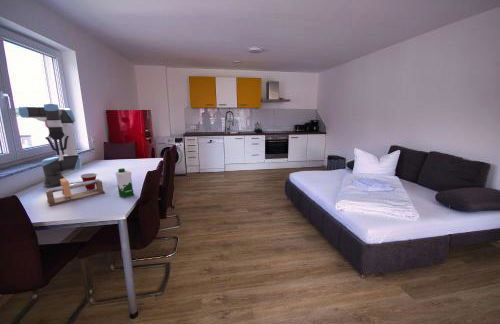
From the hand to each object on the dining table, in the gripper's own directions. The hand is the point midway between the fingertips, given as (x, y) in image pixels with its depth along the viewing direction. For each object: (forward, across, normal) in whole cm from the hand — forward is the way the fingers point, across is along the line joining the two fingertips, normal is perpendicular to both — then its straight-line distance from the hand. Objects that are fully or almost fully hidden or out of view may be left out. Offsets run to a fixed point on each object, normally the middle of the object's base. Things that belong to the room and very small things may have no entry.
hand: (61, 159), depth 164 cm
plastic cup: (+28, +15, +4) cm, 32 cm away
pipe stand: (+27, +3, -10) cm, 29 cm away
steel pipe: (+20, +3, -10) cm, 23 cm away
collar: (+24, -3, -10) cm, 26 cm away
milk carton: (+27, +27, -35) cm, 52 cm away
